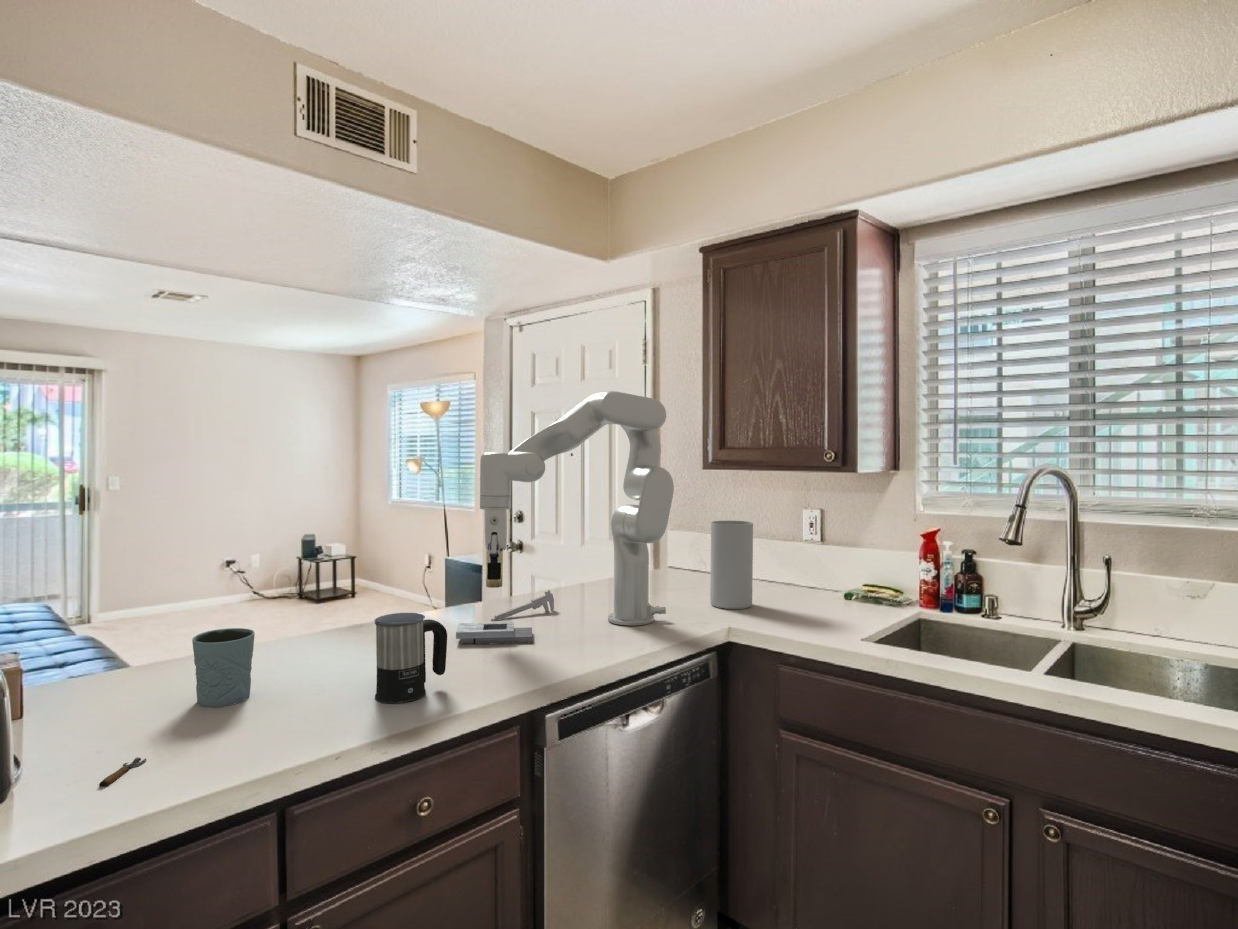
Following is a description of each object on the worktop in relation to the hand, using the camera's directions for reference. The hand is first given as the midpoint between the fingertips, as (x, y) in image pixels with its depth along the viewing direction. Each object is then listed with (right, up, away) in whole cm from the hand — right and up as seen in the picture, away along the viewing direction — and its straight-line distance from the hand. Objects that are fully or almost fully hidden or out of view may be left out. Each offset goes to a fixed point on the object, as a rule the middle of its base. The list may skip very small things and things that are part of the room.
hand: (494, 576), depth 175 cm
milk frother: (-12, -16, -36) cm, 42 cm away
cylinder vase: (+64, -15, +41) cm, 77 cm away
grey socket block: (0, -15, 0) cm, 15 cm away
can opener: (-40, -17, -73) cm, 85 cm away
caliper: (+4, -15, +26) cm, 30 cm away
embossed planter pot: (-42, -16, -43) cm, 62 cm away
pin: (0, -2, 0) cm, 2 cm away
